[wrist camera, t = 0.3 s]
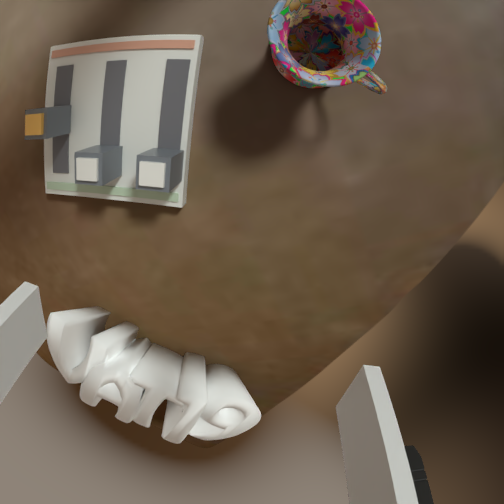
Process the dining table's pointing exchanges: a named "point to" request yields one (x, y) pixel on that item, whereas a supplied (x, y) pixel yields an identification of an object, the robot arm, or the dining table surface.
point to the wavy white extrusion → (148, 378)
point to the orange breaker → (47, 122)
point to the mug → (325, 43)
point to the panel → (124, 117)
